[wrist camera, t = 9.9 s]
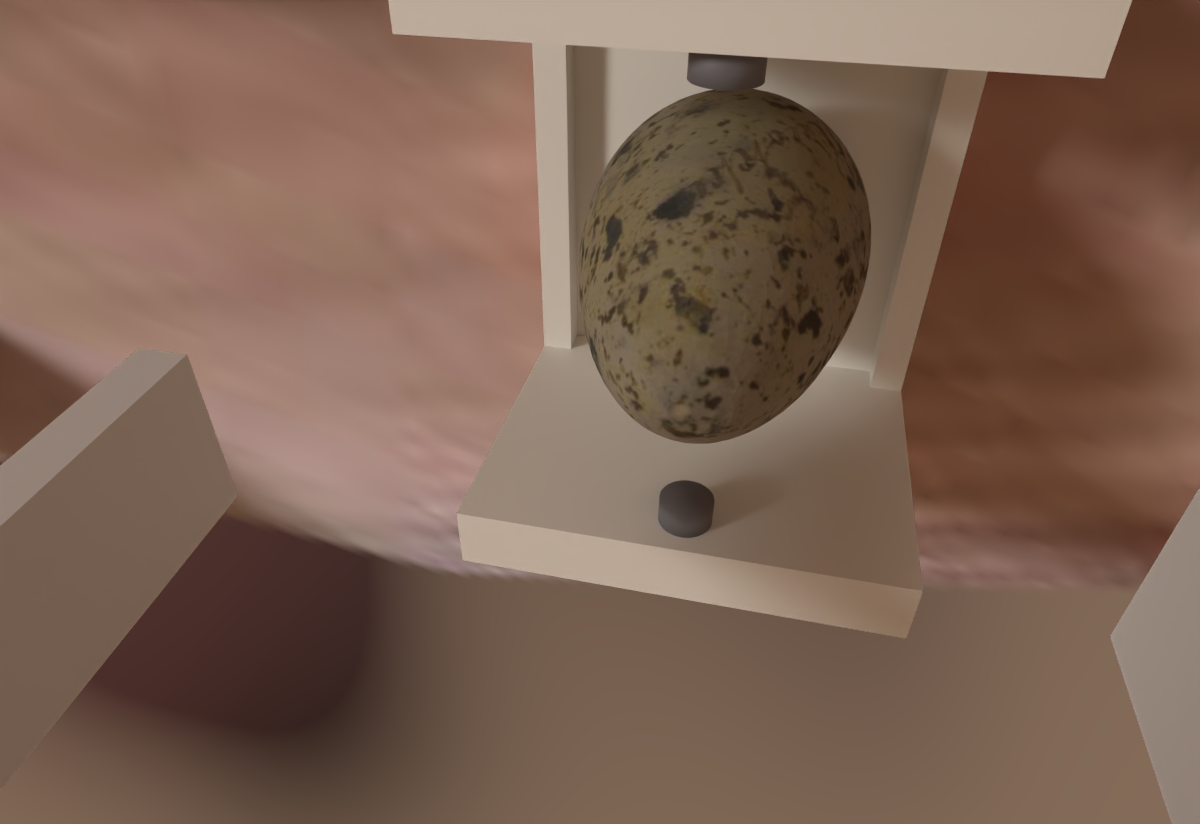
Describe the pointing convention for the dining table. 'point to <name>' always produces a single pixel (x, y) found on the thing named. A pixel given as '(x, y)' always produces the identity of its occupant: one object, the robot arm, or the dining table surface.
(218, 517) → the robot arm
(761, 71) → the holder
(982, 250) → the dining table surface
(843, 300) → the decorative egg
